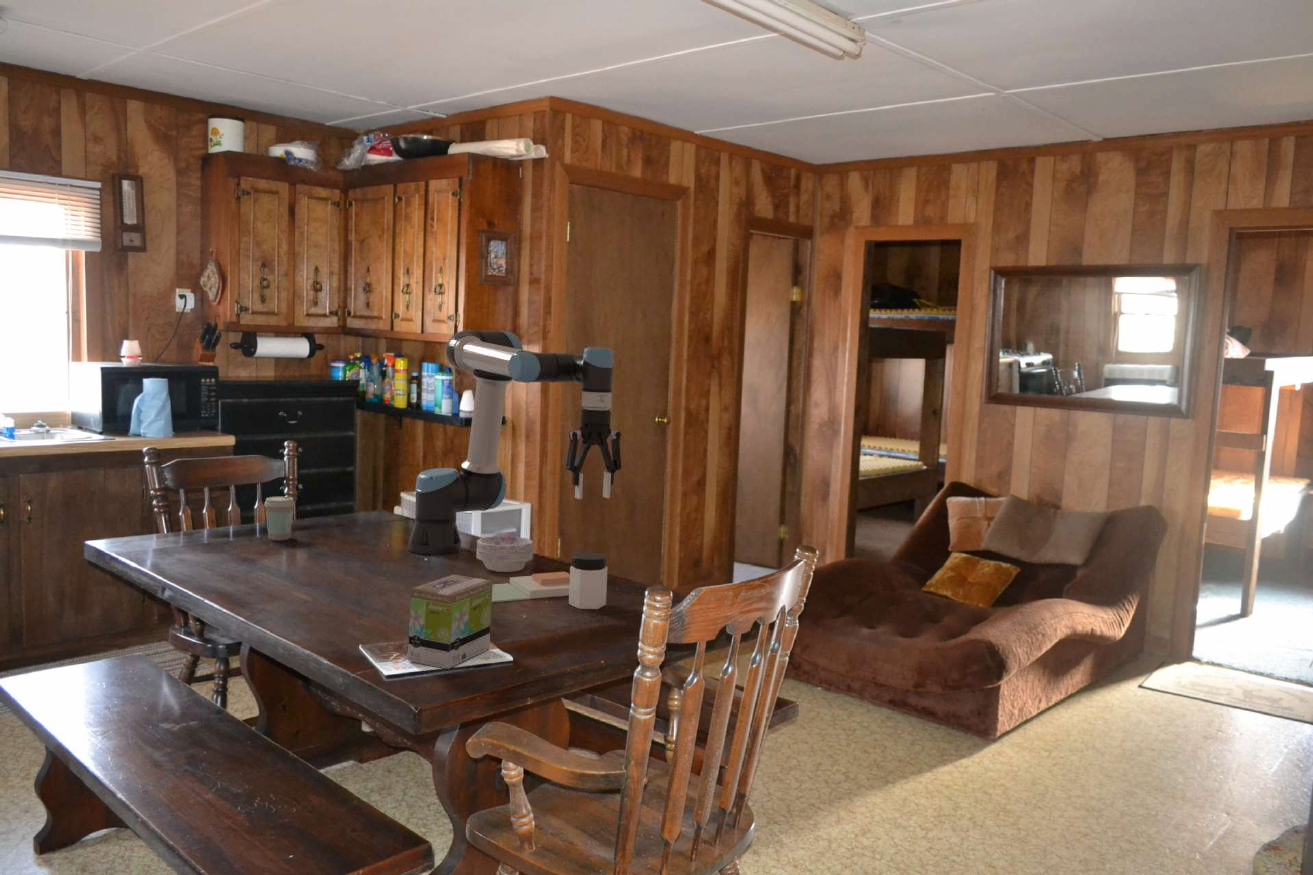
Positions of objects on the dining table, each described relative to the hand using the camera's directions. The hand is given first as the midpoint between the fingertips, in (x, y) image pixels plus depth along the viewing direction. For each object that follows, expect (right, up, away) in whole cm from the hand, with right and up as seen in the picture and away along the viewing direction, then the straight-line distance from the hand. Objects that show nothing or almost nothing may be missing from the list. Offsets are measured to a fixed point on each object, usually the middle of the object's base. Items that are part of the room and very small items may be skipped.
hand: (592, 497), depth 264 cm
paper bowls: (-25, -21, +17) cm, 37 cm away
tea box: (-25, -28, -59) cm, 70 cm away
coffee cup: (-95, -15, +41) cm, 105 cm away
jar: (0, -25, -16) cm, 30 cm away
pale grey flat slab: (-11, -23, -3) cm, 26 cm away
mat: (-25, -23, -10) cm, 35 cm away
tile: (-10, -21, -3) cm, 23 cm away
